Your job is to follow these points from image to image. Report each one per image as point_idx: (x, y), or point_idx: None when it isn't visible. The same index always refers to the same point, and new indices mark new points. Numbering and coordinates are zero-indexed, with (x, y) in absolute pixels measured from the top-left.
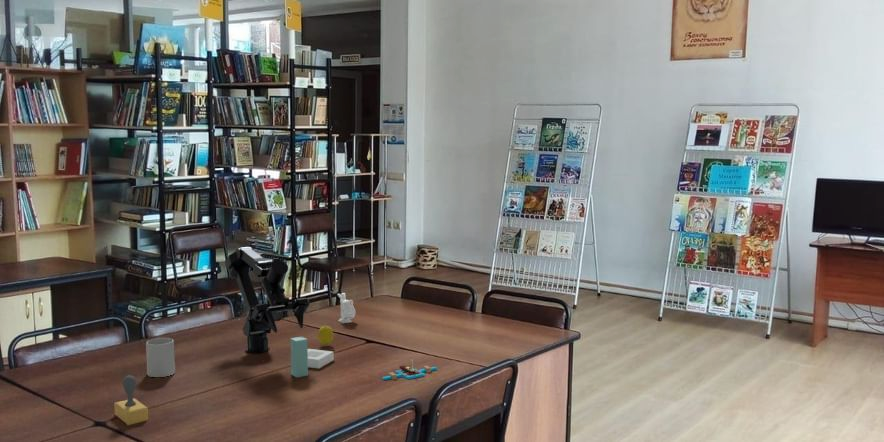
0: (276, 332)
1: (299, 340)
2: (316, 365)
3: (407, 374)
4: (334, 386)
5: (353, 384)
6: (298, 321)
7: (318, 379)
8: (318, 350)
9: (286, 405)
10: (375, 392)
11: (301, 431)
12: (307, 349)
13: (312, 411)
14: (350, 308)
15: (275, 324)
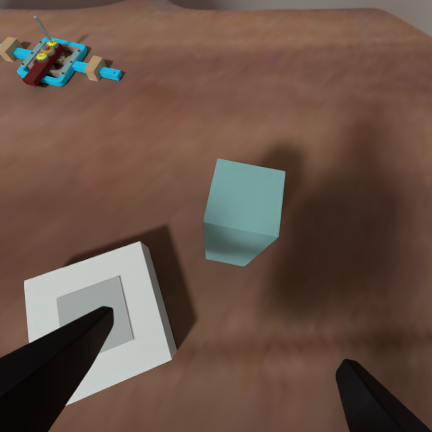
0: (338, 368)
1: (263, 168)
2: (148, 254)
3: (66, 58)
4: (224, 117)
5: (185, 99)
6: (51, 414)
7: None
8: None
9: (367, 107)
10: (191, 48)
11: (394, 23)
12: None
13: (340, 60)
14: None
15: (395, 419)
